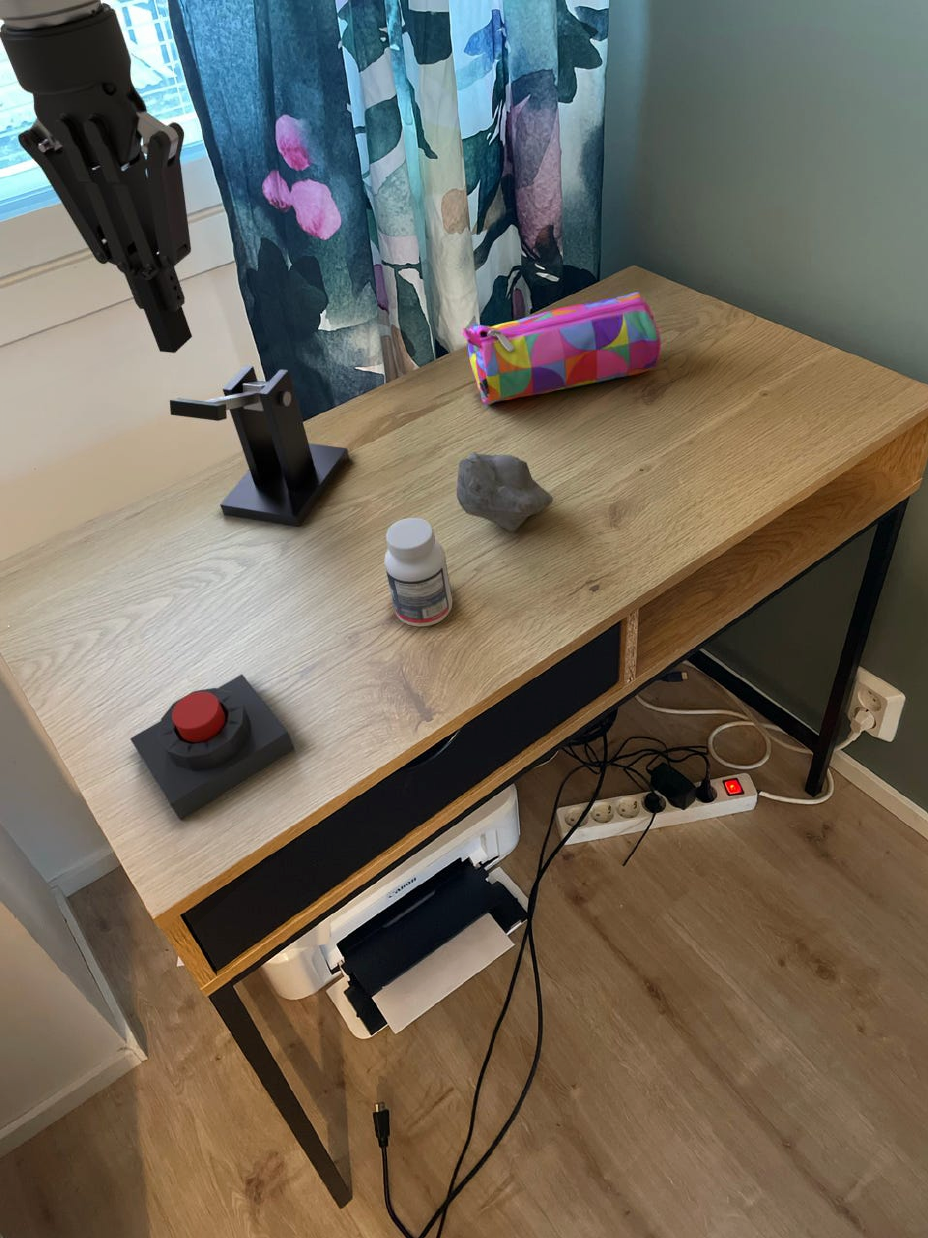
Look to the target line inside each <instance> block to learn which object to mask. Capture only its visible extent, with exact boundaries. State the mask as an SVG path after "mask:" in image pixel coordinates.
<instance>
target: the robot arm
mask: <svg viewBox="0 0 928 1238" xmlns="http://www.w3.org/2000/svg"><path fill="white" fill-rule="evenodd" d="M0 20H1V21H3V24H2V25H1V26H0V41H1V43H2V46H3V48H4V51H5V53H6V55H7V58H8V60H9V62H10V65H11V68H12V71H13V72H14V75H15V77H16V79H17V82H18V84H19V86H20V87H21V88H22V89H23V90H24V91H25V92H27V93H30V94H32V99H33V111H34V114H35V116H36V119H35V121H34V122H33V124H32V125H31V127H29V128H27V129H26V130H24V131H23V132H20V133H19V134H18V136H17V141H18V143H19V144H20V146H21V148H22V149H23V150H24V151H25V152H26V153H27V154H28V155H29V156H30V157H31V158H32V160H33V161H34V162H35V163H36V164H37V165H38V166H39V167H40V169H41V170H42V172H43V173H44V175H45V177H46V179H47V180H48V182H49V184H50V185H51V187H52V189H53V190H54V192H55V193H56V195H57V197H58V199H59V201H60V202H61V204H62V205H63V207H64V209H65V210H66V212H67V213H68V215H69V217H70V219H71V220H72V222H73V223H74V225H75V227H76V228H77V230H78V232H79V234H80V236H81V237H82V239H83V240H84V242H85V244H86V245H87V247H88V248H89V250H90V252H91V254H92V255H93V257H94V259H95V261H97V262H98V263H99V264H101V265H106V264H111V265H114V266H115V267H116V268H117V270H118V271H119V272H121V274H124V276H125V279H126V282H127V285H128V287H129V290H130V292H131V295H132V296H133V297H132V298H133V300H134V302H135V305H136V306H137V307H138V309H139V310H143V312H144V314H145V316H146V319H147V322H148V324H149V327H150V329H151V332H152V334H153V338H154V340H155V342H156V346H157V348H158V350H159V352H161V353H169V354H176V353H177V352H178V351H179V350H180V349H181V348H182V347H183V346H185V344H186V343H187V342H188V341H189V340H191V339H192V338H193V334H192V332H191V329H190V326H189V323H188V320H187V317H186V315H185V311H184V309H183V305H185V302H186V300H185V299H186V298H185V295H184V292H183V288H182V286H181V283H180V280H179V277H178V274H177V271H176V268H175V267H176V265H178V264H179V263H180V262H181V261H183V260H184V259H185V258H187V256H189V255H190V254H191V252H192V245H191V237H190V230H189V220H188V213H187V205H186V196H185V188H184V181H183V173H182V165H181V154H182V149H183V145H184V140H185V131H184V128H183V127H182V125H180V123H178V122H175V121H172V122H171V123H169V124H167V125H166V124H165V123H163V122H162V121H160V120H159V119H158V118H157V117H154V115H151V113H148V109H147V105H146V103H145V100H144V99H143V98H142V96H141V95H140V94H139V92H138V90H137V89H136V87H135V85H134V83H133V81H132V77H131V76H132V75H131V74H132V73H131V71H132V70H131V69H132V58H131V55H130V52H129V49H128V45H127V42H126V39H125V36H124V34H123V31H122V27H121V24H120V22H119V18H118V15H117V12H116V10H115V9H114V8H113V7H111V5H110V4H108V3H105V2H103V1H102V0H0ZM104 241H105V242H104Z"/></svg>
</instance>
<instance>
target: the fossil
mask: <svg viewBox="0 0 928 1238" xmlns="http://www.w3.org/2000/svg"><path fill="white" fill-rule="evenodd" d="M458 463H459V464H458V473H457V482H456V498H457V500H458V503H459V505H460V506H461V508H462V510H463V511H464V512H465V514H467V515H470V516H473V517H478V518H482V519H485V520H488V521H489V522H492V523H494V524H496V525H497V526H499V527H501V528H503V529H505V530H506V531H507V532H515V531H517V530H518V529H519V528H520V526H521V525H522V524H523V523H524V522H525V521H526V519H528V517H529V516H532V515H535V514H537V513H539V512H541V511H543V510H545V509H546V508H547V507H549V506H550V505H552V503H553V501H554V497H553V496H552V495H551V494H550V493H549V492H548V491H547V490H546V489H545V488H543V487H542V486H541V485H539V484H538V483H537V481H535V480H534V479H533V477H532V474H531V471H530V468H529V466H528V462H527V461H524V460H522V459H521V458H519V457H517V456H514V455H512V454H485V453H477V452H475V451H473V452H471V453H470V454H469V455H468V457H465V458H463V459H461V461H460V462H458Z"/></svg>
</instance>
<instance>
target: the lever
mask: <svg viewBox="0 0 928 1238" xmlns="http://www.w3.org/2000/svg"><path fill="white" fill-rule="evenodd" d="M268 382H269V381H265V380H258V381H255V382H249V383H244V384H243V393H240V394H235V395H230V396H225V395H224V396H221V397H215V398H210V399H206V400H198V399H189V398H182V397H181V398H180V397H178V398H172V399H169V409H170V410H169V411H170V415H171V416H178V417H184V418H191V419H192V418H193V419H198V420H199V419H201V420H206V421H207V420H209V421H216V422H220V421H223V420H227V419H228V414H227V411H230V409H234V408H239V407H243V406H244V409H250V410H258V411H264V410H263V407H262V403H261V400H260V397H259V392H260V391H261V390H262V389H263V388H264V387H265V386H266V385H267V383H268Z"/></svg>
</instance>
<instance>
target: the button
mask: <svg viewBox="0 0 928 1238" xmlns="http://www.w3.org/2000/svg"><path fill="white" fill-rule="evenodd" d="M191 693H192V692H191ZM189 694H190V693H189ZM186 695H187V696H186ZM186 695H185V696H186V697H185V696H183V697H184V698H183V697H182V698H183V699H181V698H180V699H181V700H180V701H179V702H178V703H177V704H176V706H175V707H174V709H173V712H172V720H173V722H174V724H175V726H176V728H177V729H178V731H179V733H180V735H181V736H182V738H184V739H185V740H187V741H190V742H203V741H206V740H209V739H211V738H212V737H214V736H215V735H217V734H218V733H219V732H220V731H221V729H222V728H223V726H224V723H225V714H224V711H223V709H222V707H221V705H220V703H219V701H218V699H217V698H216V696H214V695H213V694H211V693H208V692H196V693H192V694H190V695H188V694H186Z"/></svg>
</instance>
